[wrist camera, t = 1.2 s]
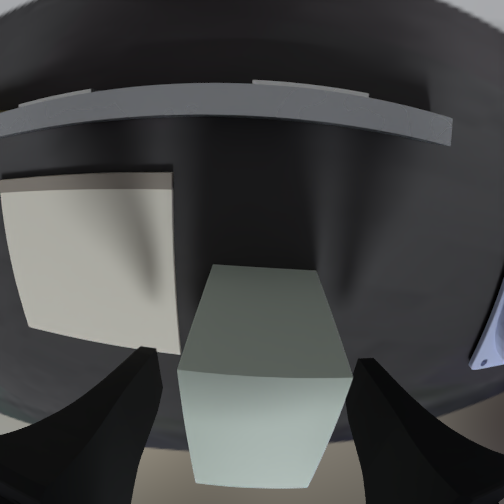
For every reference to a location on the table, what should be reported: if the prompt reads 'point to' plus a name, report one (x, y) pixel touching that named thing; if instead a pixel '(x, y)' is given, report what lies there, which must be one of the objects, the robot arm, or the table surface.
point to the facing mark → (96, 256)
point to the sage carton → (261, 378)
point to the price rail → (230, 108)
